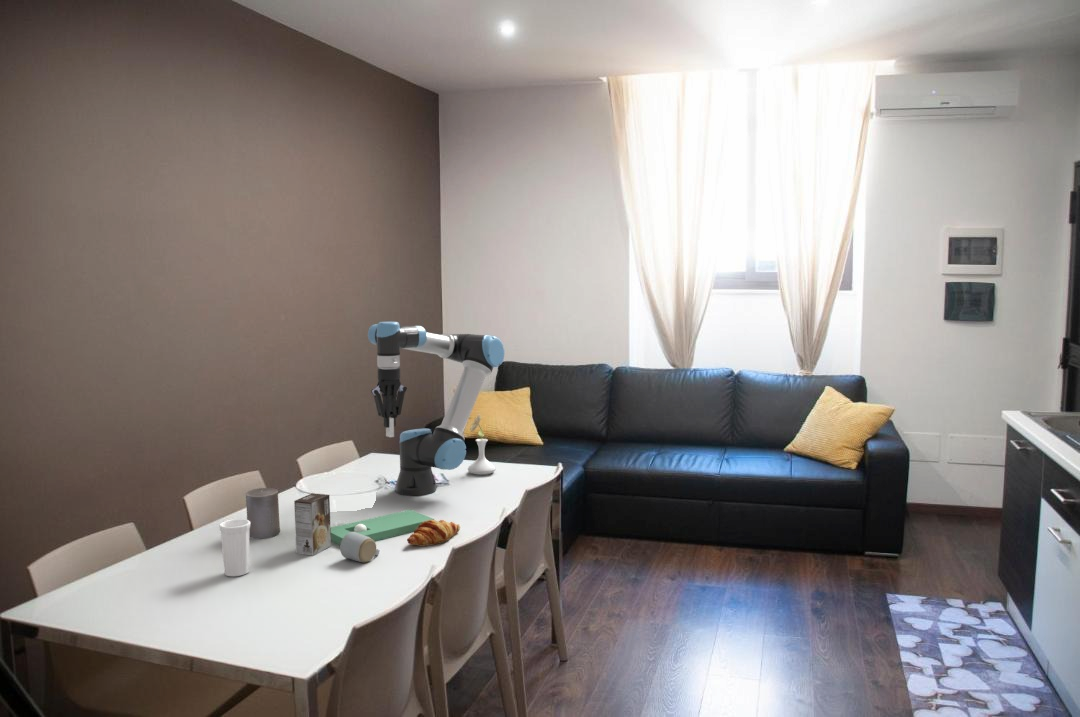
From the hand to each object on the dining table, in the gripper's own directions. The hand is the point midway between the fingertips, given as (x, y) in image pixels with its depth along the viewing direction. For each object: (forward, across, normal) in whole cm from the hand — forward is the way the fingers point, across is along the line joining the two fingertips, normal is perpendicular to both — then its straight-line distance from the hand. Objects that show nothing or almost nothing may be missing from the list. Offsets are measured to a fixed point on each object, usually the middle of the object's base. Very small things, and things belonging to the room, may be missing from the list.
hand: (390, 436), depth 290 cm
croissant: (+27, -6, -34) cm, 44 cm away
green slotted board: (+26, -14, -16) cm, 34 cm away
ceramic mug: (+27, -31, -34) cm, 53 cm away
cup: (+27, -63, -22) cm, 72 cm away
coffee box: (+27, -38, -18) cm, 50 cm away
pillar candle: (+27, -43, +6) cm, 51 cm away
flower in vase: (+27, +56, +22) cm, 66 cm away
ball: (+24, -21, -16) cm, 36 cm away
